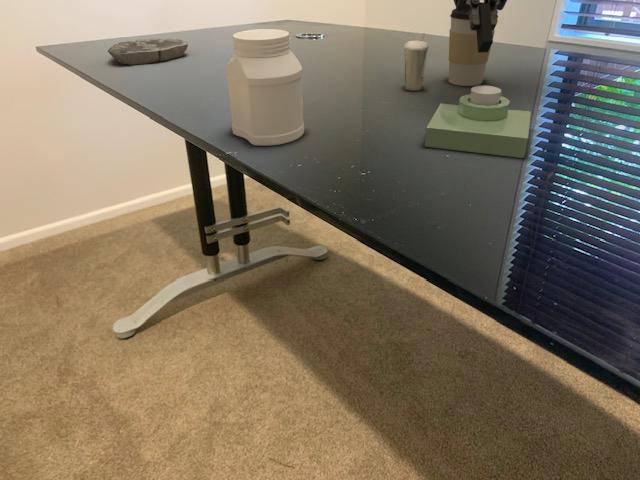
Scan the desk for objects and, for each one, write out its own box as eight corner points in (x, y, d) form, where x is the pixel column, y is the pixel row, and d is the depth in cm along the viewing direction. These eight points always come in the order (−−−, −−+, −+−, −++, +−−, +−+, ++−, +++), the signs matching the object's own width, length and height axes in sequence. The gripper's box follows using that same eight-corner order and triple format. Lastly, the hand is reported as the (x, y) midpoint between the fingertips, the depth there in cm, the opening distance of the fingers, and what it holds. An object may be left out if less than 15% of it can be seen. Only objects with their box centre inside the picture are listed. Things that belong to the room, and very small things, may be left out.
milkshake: (430, 86, 102) (435, 34, 96) (418, 93, 98) (423, 38, 93) (409, 83, 104) (413, 31, 99) (397, 89, 100) (401, 36, 95)
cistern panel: (527, 128, 81) (533, 97, 78) (524, 158, 71) (531, 124, 68) (439, 119, 85) (442, 90, 82) (424, 146, 75) (427, 113, 72)
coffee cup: (434, 81, 105) (442, 2, 97) (459, 73, 110) (469, -3, 102) (471, 90, 99) (482, 6, 91) (496, 81, 104) (509, 1, 96)
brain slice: (169, 46, 140) (167, 35, 139) (197, 56, 129) (195, 44, 127) (98, 58, 130) (95, 45, 129) (121, 69, 119) (118, 56, 117)
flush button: (500, 100, 78) (502, 86, 77) (497, 108, 75) (500, 94, 74) (471, 97, 80) (473, 84, 79) (467, 105, 76) (469, 92, 75)
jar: (313, 135, 80) (311, 35, 72) (262, 150, 75) (253, 44, 67) (274, 117, 88) (267, 25, 80) (225, 130, 83) (213, 32, 75)
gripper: (508, -66, 85) (520, 60, 80) (430, -64, 85) (437, 61, 80) (524, -105, 77) (538, 31, 72) (439, -103, 78) (447, 32, 73)
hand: (485, 47), depth 76 cm, fingers closed
